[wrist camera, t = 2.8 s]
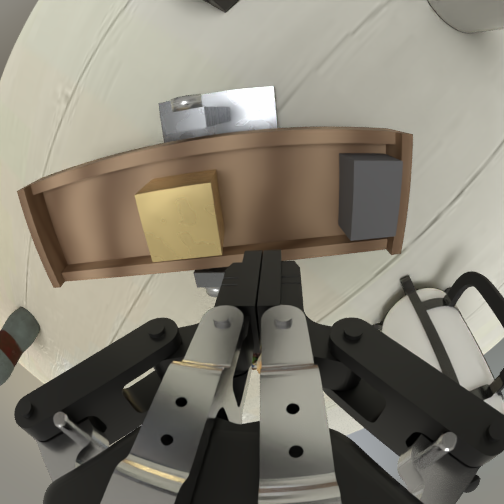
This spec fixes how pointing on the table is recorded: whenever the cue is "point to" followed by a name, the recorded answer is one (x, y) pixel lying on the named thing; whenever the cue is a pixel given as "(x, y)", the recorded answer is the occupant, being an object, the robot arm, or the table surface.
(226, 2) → the phone stand
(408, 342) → the coffee press
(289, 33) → the table surface
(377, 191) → the block
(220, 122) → the pivot stand
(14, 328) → the bottle
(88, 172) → the beam
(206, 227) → the brass block
